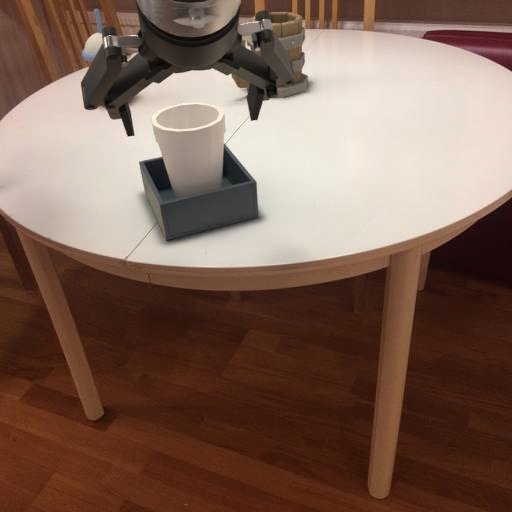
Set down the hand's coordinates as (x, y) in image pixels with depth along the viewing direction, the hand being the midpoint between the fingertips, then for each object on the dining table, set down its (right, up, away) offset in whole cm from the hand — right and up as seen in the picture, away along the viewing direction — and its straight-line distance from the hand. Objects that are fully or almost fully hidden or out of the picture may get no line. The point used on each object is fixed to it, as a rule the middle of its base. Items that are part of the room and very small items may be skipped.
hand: (191, 116), depth 58 cm
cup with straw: (-23, +18, +54) cm, 61 cm away
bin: (-1, -8, +18) cm, 20 cm away
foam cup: (-1, -8, +18) cm, 20 cm away
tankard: (+9, +20, +55) cm, 59 cm away
